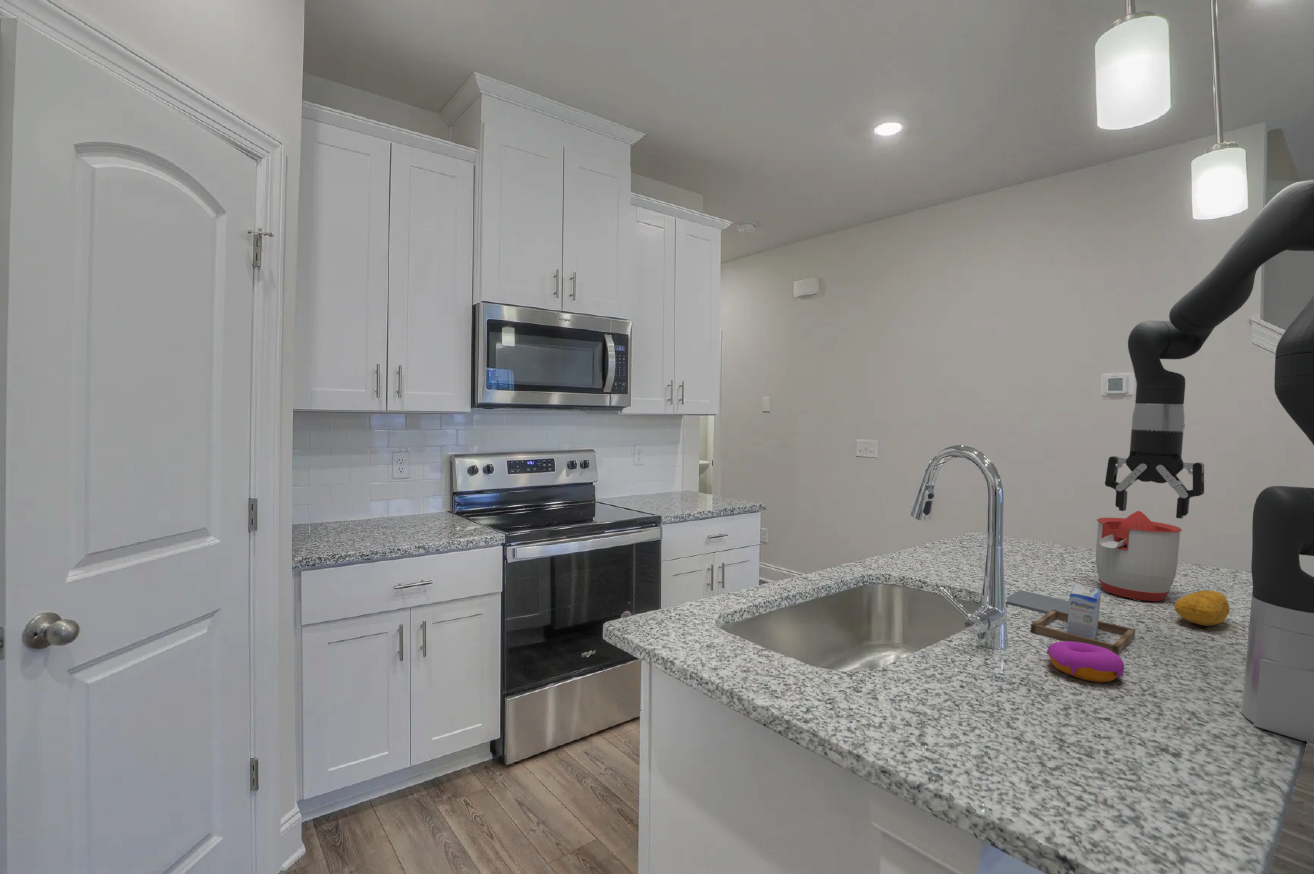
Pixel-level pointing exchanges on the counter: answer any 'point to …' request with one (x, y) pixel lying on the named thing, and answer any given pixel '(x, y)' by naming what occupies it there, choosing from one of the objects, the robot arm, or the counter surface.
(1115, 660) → the donut
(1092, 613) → the medicine box
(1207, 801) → the counter surface
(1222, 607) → the potato
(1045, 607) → the slate mat
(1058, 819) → the counter surface
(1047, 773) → the counter surface
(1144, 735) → the counter surface
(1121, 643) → the walnut cradle
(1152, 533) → the citrus juicer
